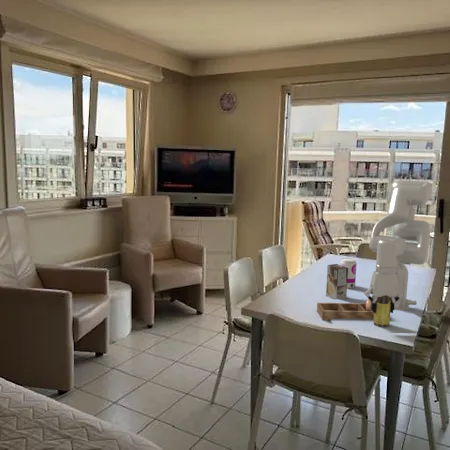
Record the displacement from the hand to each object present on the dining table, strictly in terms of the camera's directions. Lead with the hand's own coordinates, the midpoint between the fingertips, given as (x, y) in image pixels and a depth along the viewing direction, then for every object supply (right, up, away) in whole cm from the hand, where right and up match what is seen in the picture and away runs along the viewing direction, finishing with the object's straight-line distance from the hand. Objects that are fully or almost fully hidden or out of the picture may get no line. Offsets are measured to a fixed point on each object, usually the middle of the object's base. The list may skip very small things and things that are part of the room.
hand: (382, 311), depth 179 cm
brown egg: (0, -4, +13) cm, 13 cm away
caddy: (-9, -5, +13) cm, 16 cm away
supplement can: (+2, +2, +57) cm, 57 cm away
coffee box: (-9, -1, +39) cm, 40 cm away
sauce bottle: (0, -7, +1) cm, 7 cm away
